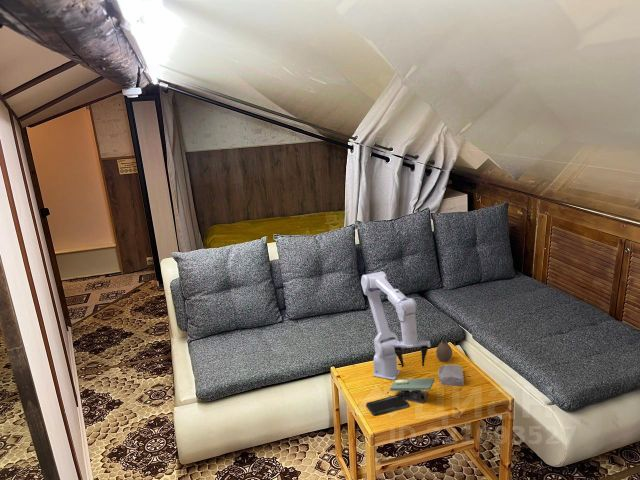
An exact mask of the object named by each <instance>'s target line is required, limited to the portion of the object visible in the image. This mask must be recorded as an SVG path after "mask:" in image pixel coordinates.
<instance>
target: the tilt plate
mask: <svg viewBox="0 0 640 480" xmlns="http://www.w3.org/2000/svg"><path fill="white" fill-rule="evenodd" d="M434 383H435V378H434V377H432V378H431V377H430V378H429V377H428V378H400V379H395V380H393V383H392V384H391V386H390V387H389V391H390V392H394V391H395V392H397V391H399V392H400V391H406V390H408V391H409V392H412V391H413V390H421V391H430V390H431V389H432V388H433V385H434Z"/></svg>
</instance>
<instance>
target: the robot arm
mask: <svg viewBox="0 0 640 480" xmlns="http://www.w3.org/2000/svg"><path fill="white" fill-rule="evenodd" d="M360 284H361V288H362V291H363V294H364V295H365V296H367V299H368V302H369V306H370V310H371V313H372V316H373V317H372V318H373V320H374V324H375V326H376V327H375V328H376V331H377V334H376V336H375V338H374V339H373V345H374V352H375V354H374V356H373V363H372V364H373V376H374V377H377V378H382V379H387V380H393V381H395V379H396V378H397V377H398V375H399V373H401V370H400V369H398V364H397V363H398V362H397V358H398V360H399V363H400V365H401V368H404V367H405V366H404V365H405V363H404V358H403V349H407V348H410V349H411V348H420V352H421V365H422V367H425V360H426V356H427V353H428V351H429V349H428V348H431V341H430V340H425V339H424V340H423V339H422V340H421V339H418V330H417V321H416V319H417V318H416V314H417V312H418V305H417V301H416V300H415V299H414V298H412V297H411V298H410V297H407V296H406V295H405V294H404V293H403V292H402V291H400V289H398V288H394V287H393V286H392V285H391V284H390V282H389V281H388V276H387V274H386V273H385V272H384V271H382V270H381V271H378V272H373V273H368V274H362V276H361V279H360ZM382 292H383V293H384V294H385V295H387V300H388V301H389V302H390V303H391V304H392V305H393V307H394V308H395V311H396V314H397V316H398V320H399V322H400V331H401V337H402V338H401V339H402V340H401V341H399V339H398V336H397V334H396V333H394V332H392V331H391V330H390V327H389V324H388V320H387V317H386V314H385V309H384V307H383V303H382V300H381V296H380V295H381V293H382Z"/></svg>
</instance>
